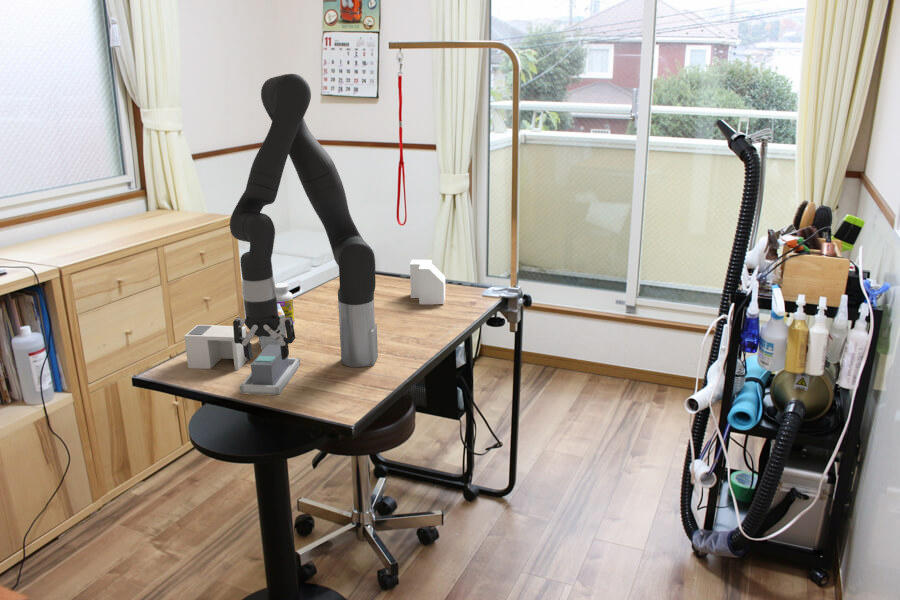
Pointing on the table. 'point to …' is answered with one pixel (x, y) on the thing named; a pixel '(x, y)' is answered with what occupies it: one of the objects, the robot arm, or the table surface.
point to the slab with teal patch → (268, 366)
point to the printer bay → (213, 346)
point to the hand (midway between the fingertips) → (267, 358)
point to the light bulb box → (270, 340)
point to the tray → (271, 389)
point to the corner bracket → (427, 282)
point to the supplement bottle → (285, 299)
